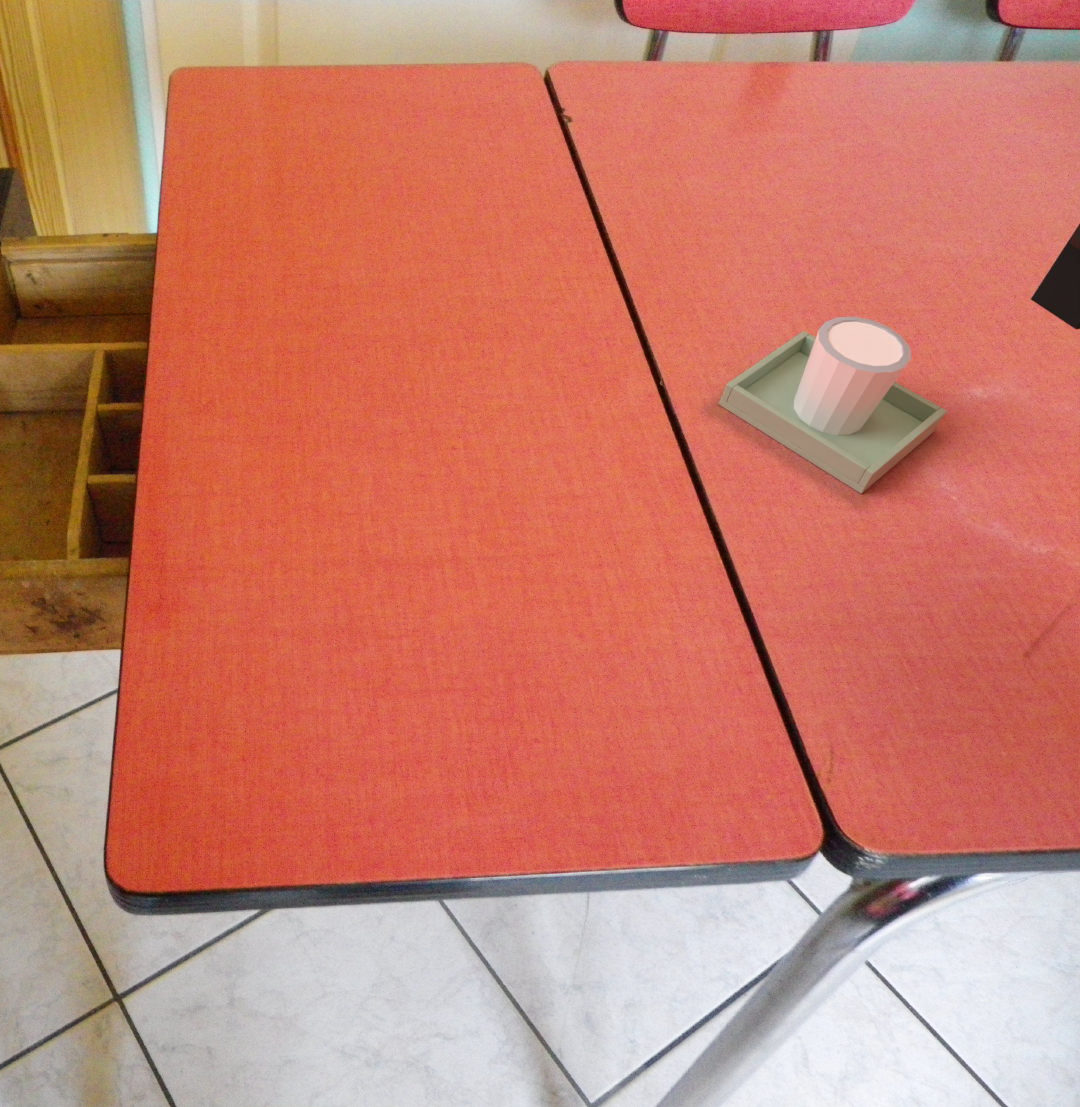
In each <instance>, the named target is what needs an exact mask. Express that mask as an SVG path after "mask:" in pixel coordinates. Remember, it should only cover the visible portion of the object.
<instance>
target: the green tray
mask: <svg viewBox="0 0 1080 1107" xmlns="http://www.w3.org/2000/svg"><path fill="white" fill-rule="evenodd" d="M815 339H816V336H814V335H813V334H810V333H809V332H807V331H805V330H802V331H801V332H799V333H798V334H797V335H795V336H794V337H793V338H791V339H789V340H788V341H787V342H785V343H784V344H782V345H781V346H779V347H778V348H776V349H775V350H773V351H772V352H771V353H769V354H767V355H766V356H765V357H764V358H762V359H760V360H759V361H758V362H756V363H755V364H753V365H751V367H749V368H747V369H746V370H745V371H743V372H741V373H740V374H739V375H738V376H735V377H734V378H733V379H731V380H730V381H728V382H727V383H726V384H725V387H724V390H723V392H722V394H721V396H720V399H719V402H718V405H719V406H720V407H722V408H723V409H725V410H727V411H728V412H731V414H733V415H735V416H737V417H738V418H740V420H741V419H742V420H743V421H745V422H746V423H748V424H749V425H751V426H752V427H754V428H756V429H757V430H759V431H760V432H762V433H763V434H765V435H766V436H768V437H770V438H771V439H773V440H774V441H776V442H778V443H780V444H781V445H783V446H784V447H786V448H787V449H789V450H791V451H792V452H794V453H795V454H797V455H798V456H800V457H802V458H803V459H804V460H806V461H808V462H810V463H811V464H813V465H814V466H816V467H818V468H819V469H821V470H822V471H824V472H826V473H827V474H829V475H830V476H832V477H834V478H835V479H837V480H838V481H840V482H842V483H843V484H845V485H846V486H847V487H849V488H851V489H853V490H854V491H856V492H858V493H859V494H864V492H865V491H867V489H869V488H870V487H871V486H872V485H874V484H875V483H876V482H877V481H878V480H879V479H881V478H882V477H883V476H884V475H885V474H886V473H888V472H889V471H890V470H891V469H893V467H895V466H896V465H897V464H899V463H900V462H901V460H903V459H904V458H905V457H906V456H907V455H909V454H910V453H911V452H912V451H913V450H915V449H916V448H917V447H918V446H919V445H920V444H921V443H923V442H924V441H925V440H926V439H927V438H929V437H930V436H931V435H932V434H933V433H934V432H936V430H937V429H938V427H939V425H940V423H941V422H942V420H943V419H944V418H945V416H946V414H947V413H948V410H947V409H945V408H943V407H941V406H940V405H938V404H936V403H935V402H933V401H930V400H929V399H927V398H926V397H924V396H922V395H921V394H918V393H916V392H914V391H913V390H911V389H909V388H907V387H906V386H904V385H902V384H900V383H899V382H897V381H895V382H894V383H893V385H892V386H891V387H890V389H889V390H888V392H887V393H886V394H885V396H884V397H883V399H882V400H881V401H880V403H879V404H878V405H877V407H876V408H875V410H874V411H873V412H872V414H871V415H870V417H869V418H868V419H867V421H866V422H865V423H864V425H863V426H862V428H861V429H860V430H859V431H857V432H855V433H852V434H850V435H833V434H828V433H823V432H820V431H818V430H816V429H814V428H812V427H810V426H808V425H807V424H806V423H805V422H803V421H802V420H801V419H800V418H799V417H798V415H797V413H796V412H795V410H794V399H795V396H796V393H797V390H798V387H799V385H800V382H801V379H802V376H803V373H804V370H805V367H806V365H807V362H808V359H809V356H810V353H811V350H812V348H813V345H814V342H815Z"/></svg>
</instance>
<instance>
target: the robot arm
mask: <svg viewBox="0 0 1080 1107" xmlns="http://www.w3.org/2000/svg"><path fill="white" fill-rule="evenodd" d="M1030 300H1031V301H1032V302H1034V303H1035V304H1037V305H1038V306H1040V307H1041V308H1043V309H1044V310H1046V311H1048V313H1051V314H1052V316H1055V317H1057V318H1058V319H1059V320H1061V321H1062V322H1064V323H1066V324H1067V325H1068V326H1070V327H1072V328H1073V329H1075V330H1080V223H1078V226H1077V227H1076V228H1075V230H1074V232H1073V233H1072V234H1071V236H1070V238H1069V239H1068V241H1067V242H1066V244H1065V246H1064V247H1063V249H1062V250H1061V252H1060V253H1059V255H1058V256H1057V258H1056V260H1055V261H1054V262H1053V264H1052V266H1051V267H1050V268H1049V270H1048V272H1046V275H1045V276H1044V277H1043V279H1042V281H1041V282H1040V284H1039V285H1038V286H1037V289H1036V290H1035V292H1034V293H1033V295H1032V296H1031V297H1030Z"/></svg>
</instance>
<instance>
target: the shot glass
mask: <svg viewBox="0 0 1080 1107" xmlns="http://www.w3.org/2000/svg"><path fill="white" fill-rule="evenodd" d="M815 337H816V339H815V342H814V345H813V348H812V350H811V353H810V356H809V359H808V362H807V365H806V367H805V370H804V373H803V376H802V379H801V382H800V385H799V387H798V390H797V393H796V396H795V399H794V410H795V412H796V413H797V415H798V417H799V418H800V419H801V420H802V421H803V422H805V423H806V424H807V425H808V426H810V427H812V428H814V429H816V430H818V431H820V432H823V433H828V434H833V435H850V434H852V433H855V432H857V431H859V430H860V429H861V428H862V426H863V425H864V423H865V422H866V421H867V419H868V418H869V417H870V415H871V414H872V412H873V411H874V410H875V408H876V407H877V405H878V404H879V403H880V401H881V400H882V399H883V397H884V396H885V394H886V393H887V392H888V390H889V389H890V387H891V386H892V385H893V383H894V382H896V380H897V379H898V378H899V377H900V376H901V373H902V372H903V371H904V370H905V368H906V367H907V365H908V364H909V363H910V361H911V359H912V351H911V349H912V348H911V346H909V343H907V341H906V339H905V338H904V337H903V336H902V335H901V334H900V333H898V332H896V331H895V330H894V329H892V328H891V327H890V326H887V325H885V324H884V323H883V324H882V323H881V322H878V321H876V320H873V319H870V318H863V317H859V316H837V317H835V318H832V319H829V320H827V321H825V322H824V323H823V324H822V325H821V326H820V327H819V328H818V331H817V334H816V336H815Z"/></svg>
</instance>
